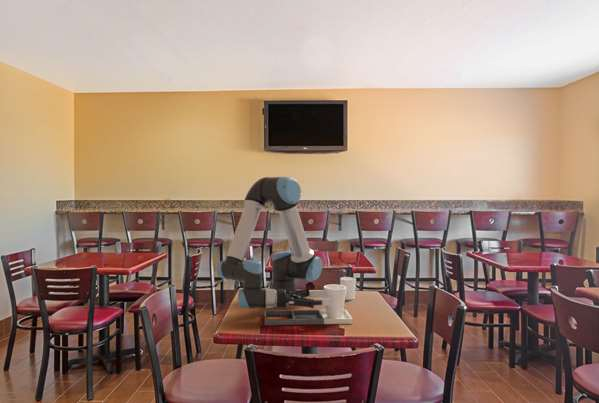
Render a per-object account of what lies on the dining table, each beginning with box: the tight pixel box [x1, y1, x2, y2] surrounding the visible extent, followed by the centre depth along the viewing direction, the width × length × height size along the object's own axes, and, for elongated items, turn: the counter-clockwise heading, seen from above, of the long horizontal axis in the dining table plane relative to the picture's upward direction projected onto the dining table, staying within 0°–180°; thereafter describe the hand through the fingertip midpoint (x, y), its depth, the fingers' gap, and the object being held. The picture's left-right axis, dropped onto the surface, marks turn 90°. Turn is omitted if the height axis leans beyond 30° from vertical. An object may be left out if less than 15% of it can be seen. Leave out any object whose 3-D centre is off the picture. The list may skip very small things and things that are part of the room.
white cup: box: [339, 276, 357, 301], centre depth 201 cm, size 8×8×10 cm
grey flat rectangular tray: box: [264, 309, 353, 326], centre depth 166 cm, size 35×13×2 cm, turn 95°
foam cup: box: [323, 283, 346, 319], centre depth 167 cm, size 10×9×13 cm
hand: (327, 297), depth 166 cm, fingers open, 13 cm apart
